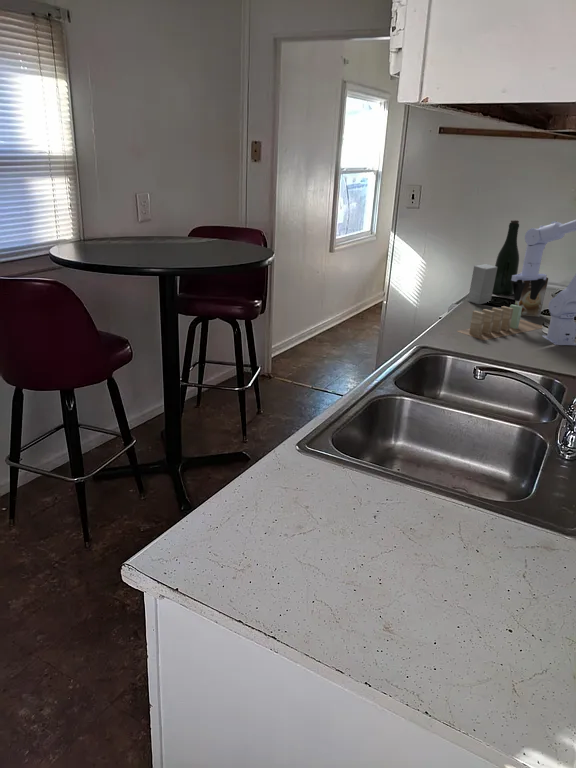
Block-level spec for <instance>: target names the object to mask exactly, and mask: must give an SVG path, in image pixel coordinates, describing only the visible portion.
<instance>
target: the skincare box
mask: <svg viewBox="0 0 576 768" xmlns="http://www.w3.org/2000/svg"><path fill="white" fill-rule="evenodd" d="M496 272H497V267H495V265H491V264H489V263H483V264H478V265H473V270H472V275H471V281H470V282H471V283H470V287H469V292H468V299H467V301H468V303H473V304H476V305H482V304H487V302H488V303H490V302H489V301H491V302H492V296H493V293H492V292H493V287H494V282H495V277H496Z"/></svg>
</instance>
